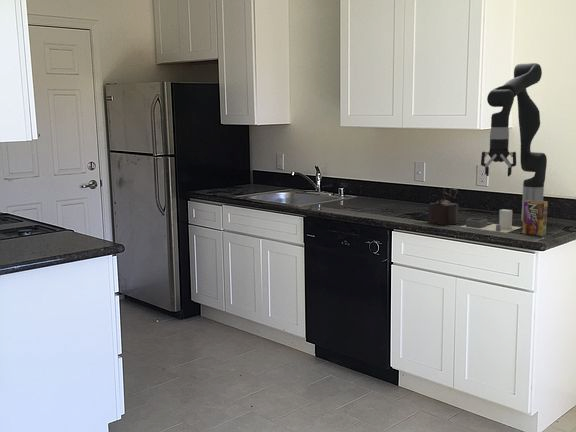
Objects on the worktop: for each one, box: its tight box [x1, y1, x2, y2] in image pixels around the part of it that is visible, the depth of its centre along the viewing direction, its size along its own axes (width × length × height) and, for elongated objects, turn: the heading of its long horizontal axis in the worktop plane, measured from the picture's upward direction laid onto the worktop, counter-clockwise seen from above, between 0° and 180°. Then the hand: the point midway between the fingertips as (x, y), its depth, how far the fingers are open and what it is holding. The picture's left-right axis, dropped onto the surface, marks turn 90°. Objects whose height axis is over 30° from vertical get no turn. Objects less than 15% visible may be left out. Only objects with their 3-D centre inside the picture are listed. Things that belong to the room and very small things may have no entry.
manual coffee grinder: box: [427, 187, 460, 226], centre depth 308 cm, size 16×11×18 cm
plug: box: [498, 208, 513, 229], centre depth 292 cm, size 4×5×8 cm
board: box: [460, 217, 523, 234], centre depth 295 cm, size 16×22×4 cm
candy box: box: [522, 200, 549, 239], centre depth 277 cm, size 9×4×15 cm, turn 47°
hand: (498, 176), depth 278 cm, fingers open, 8 cm apart
